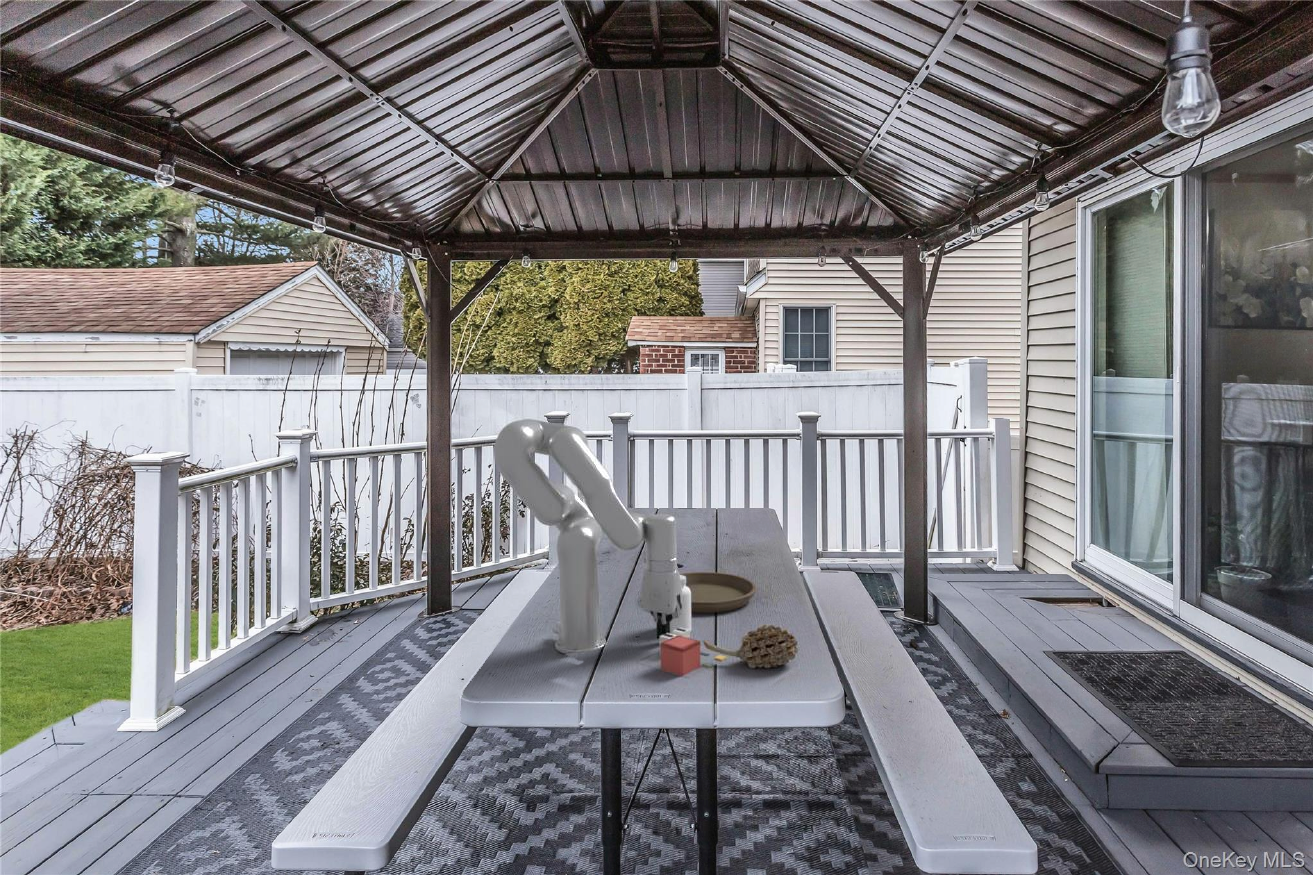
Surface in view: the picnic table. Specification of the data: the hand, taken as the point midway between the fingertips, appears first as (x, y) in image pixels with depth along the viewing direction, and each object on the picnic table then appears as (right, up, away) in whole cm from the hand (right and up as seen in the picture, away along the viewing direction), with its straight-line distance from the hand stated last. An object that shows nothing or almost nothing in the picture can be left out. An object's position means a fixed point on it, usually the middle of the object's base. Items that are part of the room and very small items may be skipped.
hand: (663, 637), depth 188 cm
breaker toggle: (+4, -2, -4) cm, 6 cm away
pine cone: (+20, -3, -14) cm, 24 cm away
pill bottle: (+3, -2, +10) cm, 11 cm away
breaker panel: (+5, -3, -10) cm, 12 cm away
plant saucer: (+13, +1, +40) cm, 42 cm away
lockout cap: (+4, -3, -16) cm, 17 cm away
